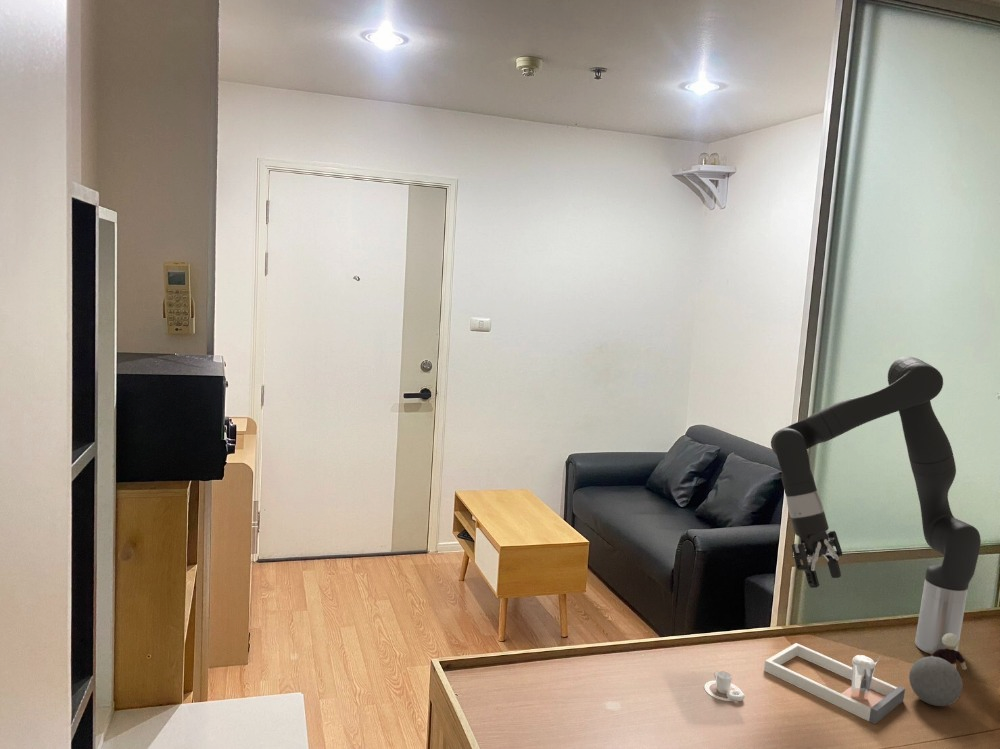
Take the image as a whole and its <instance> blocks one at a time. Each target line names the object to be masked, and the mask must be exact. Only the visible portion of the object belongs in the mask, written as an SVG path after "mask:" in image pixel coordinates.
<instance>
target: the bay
mask: <svg viewBox="0 0 1000 749" xmlns="http://www.w3.org/2000/svg"><path fill="white" fill-rule="evenodd" d="M795 657H799V658H801V659H804V660H806V661H808V662H810V663H813V664H815V665H817V666H819V667H821V668H824V669H825V670H828V671H829V672H833V673H834V674H836V675H839V676H841V677H842V678H845V679H847V680H850V681H852V666H849V665H847V664H845V663H843V662H840V661H838V660H836V659H834V658H831V657H829V656H827V655H825V654H823V653H821V652H818V651H816V650H813V649H811V648H809V647H806V646H804V645H802V644H799V643H797V642H795V643H793V644H792V645H789V646H788V647H786V648H784V649H783V650H781V651H779V652H778V653H775V654H774V655H772V656H771V657H769V658H767V659H765V661H764V669H763V671H764V672H766V673H769V674H770V675H772V676H774V677H776V678H778V679H779V680H783V681H785V682H786V683H789V684H791V685H792V686H795V687H797V688H799V689H801V690H804V691H805V692H808V693H810V694H812V695H814V696H815V697H818V698H820V699H822V700H824V701H826V702H828V703H830V704H833V705H834V706H836V707H838V708H840V709H843V710H845V711H846V712H849V713H851V714H853V715H854V716H857V717H859V718H861V719H863V720H865V721H867V722H869V723H871V724H874V725H876V724H877V723H878V722H880V721H881V720H882V719H883V718H884V717H886V716H887V715H888V714H889V713H891V712H892V711H894V710H895V708H896V707H898V706H899V705H900V704H902V703H904V699H905V692H906V688H905V687H903V686H900V685H898V686H895V685H892V684H891V683H889V682H886V681H884V680H882V679H880V678H876V677H874V676H873V677H872V680H871V684H870V689H869V693H868V697H867V700H865V701H860V700H857V699H854V698H853V697H852V696H851V687H852V685H851V686H850V687H848V688H846V689H845V690H843V692H841V693H840V692H839V691H836V690H834V689H832V688H830V687H827V686H825V685H823V684H821V683H820V682H817V681H815V680H813V679H811V678H809V677H806V676H804V675H802V674H800V673H798V672H795V671H793V670H792V669H790V668H787V667H786V666H784V665H783V664H785V663H787V662H788V661H790V660H791V659H794V658H795Z"/></svg>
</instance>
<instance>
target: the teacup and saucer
mask: <svg viewBox="0 0 1000 749" xmlns="http://www.w3.org/2000/svg"><path fill="white" fill-rule="evenodd" d="M714 678H715V679H714V680H710V681H707V682H706V683H705V684H704V687H703V688H704V689H703V690H705V692H706V694H708V695H709V696H711V697H712V698H714V699H717V700H719V701H725V702H742V701H743V700H745V696H746V695H745V694H744V693H743V691H742V690H741V689H740V688H739V686H737V685H735V684H733V683H732V680H733V676H732V674H731V673H729V672H727V671H724V670H722V671H716V672H714ZM715 684H716V689H717V692H719V693H720V694H723V695H724V694H726V697H721V696H718V695H716V694H715V693H713V692H712V690H711V686H712V685H715ZM731 688H733V689H732V690H730V689H731Z"/></svg>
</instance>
